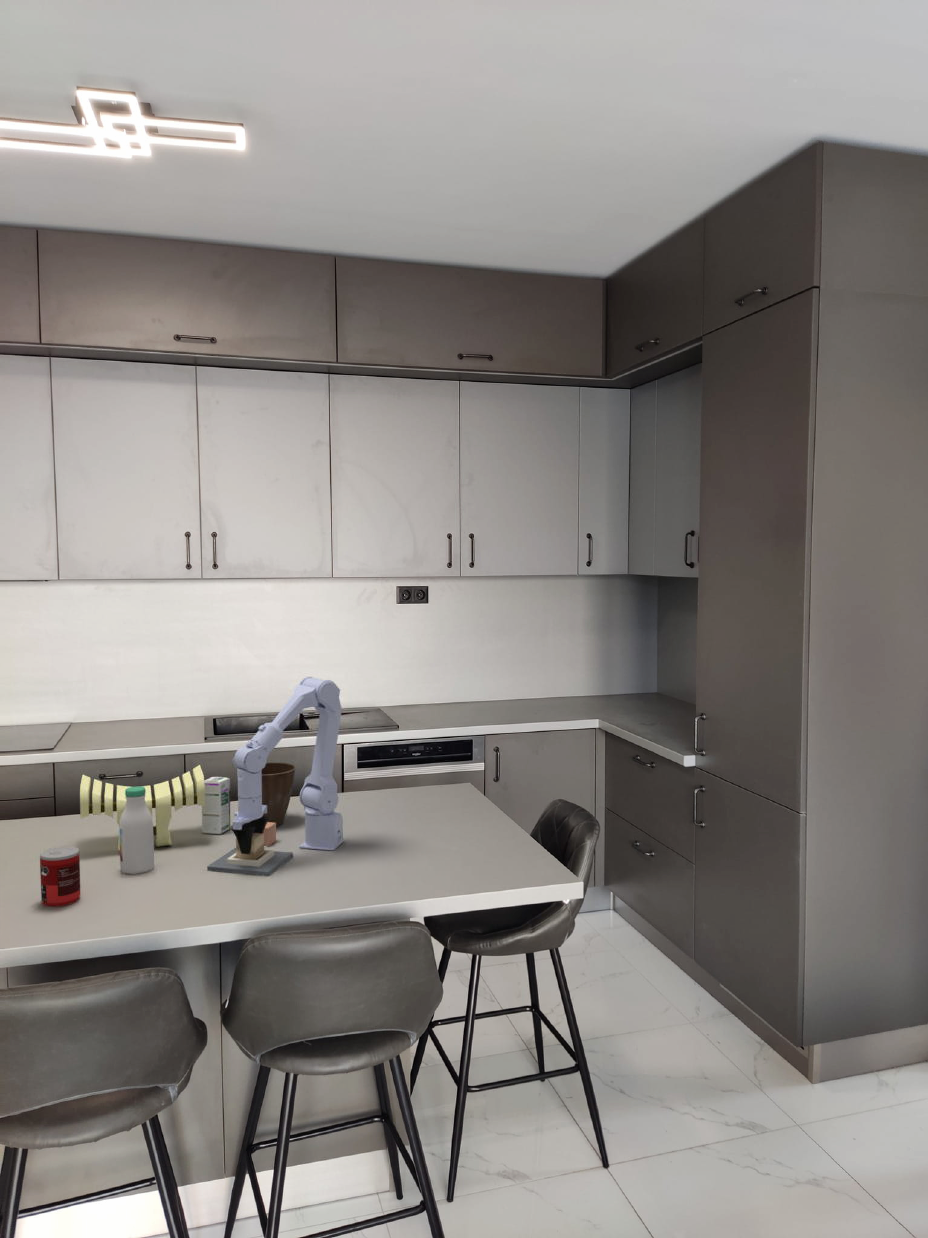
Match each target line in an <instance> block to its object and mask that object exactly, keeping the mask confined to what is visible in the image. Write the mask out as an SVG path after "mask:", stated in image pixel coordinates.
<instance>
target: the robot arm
mask: <svg viewBox="0 0 928 1238" xmlns="http://www.w3.org/2000/svg"><path fill="white" fill-rule="evenodd" d="M340 693H341V689H340V688H339V686H338V685H337V684H336V683H335V682H334V681H333V680H330V679H322V678H317V677H312V676H307V677H306V676H305V678H303V679H302V680H301V681H300V682H299V684H297V685H296V686H295V687H294V691H293V694H292V695H291V696H290V698H289V699H288V700H287V702H286V703H285V704H284V705H283V707H282V708H281V709H280V711H279V712H278V714H276V717H274V719H273V721H271V722H265V723H264V724H261V725H260V726H258V731H257V732H256V733H255V734H254V735H253V737H251V739H249V740H248V741H247V742H246V743H245V745H244V746H242V747H240V748H238V749H237V750H236V752H235V754H234V756H233V758H232V759H231V760H232V763H233V766H234V767H235V769H236V774H237V809H238V810H237V811H235V812H233V813H234V814H233V816H234V817H235V818H234V820H233V821H232V824H231V825H230V829H231V831H232V833H233V834H234V836H235V839H236V838H237V841H238V844H239V847H240V851H241V854H250V851H251V843H252V836H253V833H262V834H263V832H264V829H265V826H266V824H267V822H268V820H269V817H268V816H263V814H266V813H267V805H262V774H261V770H262V769H263V768H264V767H265V765H266V763H267V760H268V757H269V755H270V753H272V751H273V750H274V749H275V748H276V746H277V745H279V743H280V741H281V740H282V739H283V738H284V733H283V731H284V730H285V729H286V728H287V727H288V726H289V724H291V723H292V721H294V720H295V719H296V718H297V717H298V715H299V714H300V713H301V712H303V710H304V709H305V710H306V709H309V708H314V709H315V710H316V712H318V714H319V718H318V726H317V730H316V731H317V732H316V733H317V734H316V739H315V745H314V750H313V751H314V752H313V759H312V766H311V773H310V774H309V775H307V777H305V779H304V784H303V786H302V787H301V790H300V792H299V802H300V804H301V805H302V806H303V810H304V829H305V830H304V833H305V836H304V838H305V839H304V842H302V843H301V844H300V845H299V848H300V849H308V850H309V849H312V850H321V851H322V850H324V851H335V850H336V849H337V848H338V847H339V846H340V845H341V844H342V843H344V842H345V840H344V829H343V827H344V822H343V821H344V820H343V815H342V813H340V812H337V811H335V810H336V808H337V806H338V804H339V796H338V784H337V782H336V780H335V779H334V777H333V772H334V766H335V765H334V764H335V757H336V751H337V745H338V739H339V738H338V737H339V731H340V730H339V729H340V724H341V716H342V705H341V700H340Z"/></svg>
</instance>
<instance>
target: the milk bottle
mask: <svg viewBox="0 0 928 1238" xmlns="http://www.w3.org/2000/svg"><path fill="white" fill-rule="evenodd" d="M141 786H142V785H141ZM141 786H129V787H130V788H127V789H126V790H125V795H126V797H125V798H126V800H127V801H126V806H125V809H124V811H123V813H122V816H121V819H120V827H119V830H118V832H119V833H118V836H119V835H120V851H119V865H120V871H121V873H123V874H125V875H126V874H127V875H135V874H136V875H138V874H144V873H146V872H150V871H151V870H153V869H154V867H155V846H154V845H155V844H154V843H155V841H154V839H155V838H154V836H153V826H154V822H153V821H154V820H153V815H152V816H151V813H150V811H149V809H148V807H147V805H146V803H145V796H146V795H145V793H146V790H145V787H141Z"/></svg>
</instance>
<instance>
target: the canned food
mask: <svg viewBox="0 0 928 1238" xmlns="http://www.w3.org/2000/svg"><path fill="white" fill-rule="evenodd" d="M80 860H81V858H80V850H79V848H78V847H76V846H70V845H69V846H67V845H66V846H64V845H63V846H56V847H52V848H48V849H46V850H43V851H42V852H41V853H40V854H39V868H40V869H39V870H40V871H39V874H40V893H41V894H40V895H41V896H40V897H41V902H42V904H43V905H44V906H45V907H52V908H53V907H55V908H56V907H59V908H60V907H64V906H65V907H66V906H68V905H72V904H74V903H76V902H77V901H78V900H79V899H80V898H81V866H80V865H81V863H80V862H81V861H80Z"/></svg>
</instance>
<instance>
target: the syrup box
mask: <svg viewBox="0 0 928 1238" xmlns="http://www.w3.org/2000/svg"><path fill="white" fill-rule="evenodd" d="M204 784H205V806H201V819H202V820H201V830H202V831H201V832H202V834H212V835H221V834H222V833H226V831H228V830H230V829H231V779H230V777H225V776H211V777H209V778H207V779H204Z"/></svg>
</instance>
